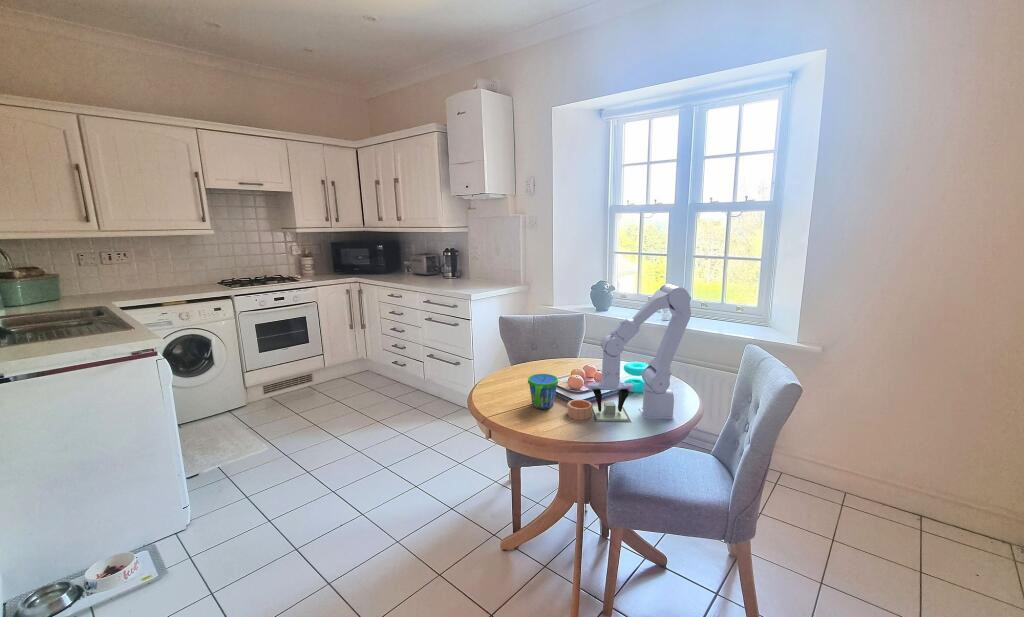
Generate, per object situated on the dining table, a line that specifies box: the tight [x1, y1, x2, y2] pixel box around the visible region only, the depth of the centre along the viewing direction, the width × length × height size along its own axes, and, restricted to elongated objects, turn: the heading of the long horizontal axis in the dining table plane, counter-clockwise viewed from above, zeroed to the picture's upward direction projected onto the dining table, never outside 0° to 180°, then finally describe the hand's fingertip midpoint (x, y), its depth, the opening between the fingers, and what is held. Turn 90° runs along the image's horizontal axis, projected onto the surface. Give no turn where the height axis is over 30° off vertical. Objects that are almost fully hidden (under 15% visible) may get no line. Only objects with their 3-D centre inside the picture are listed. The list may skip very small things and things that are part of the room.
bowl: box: [566, 399, 593, 421], centre depth 146 cm, size 8×8×4 cm
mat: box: [591, 406, 633, 423], centre depth 146 cm, size 12×12×1 cm
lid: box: [592, 401, 628, 421], centre depth 145 cm, size 10×10×4 cm
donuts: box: [623, 361, 648, 394], centre depth 168 cm, size 10×10×10 cm
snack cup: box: [527, 373, 559, 410], centre depth 153 cm, size 16×10×10 cm
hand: (609, 410), depth 145 cm, fingers open, 6 cm apart
